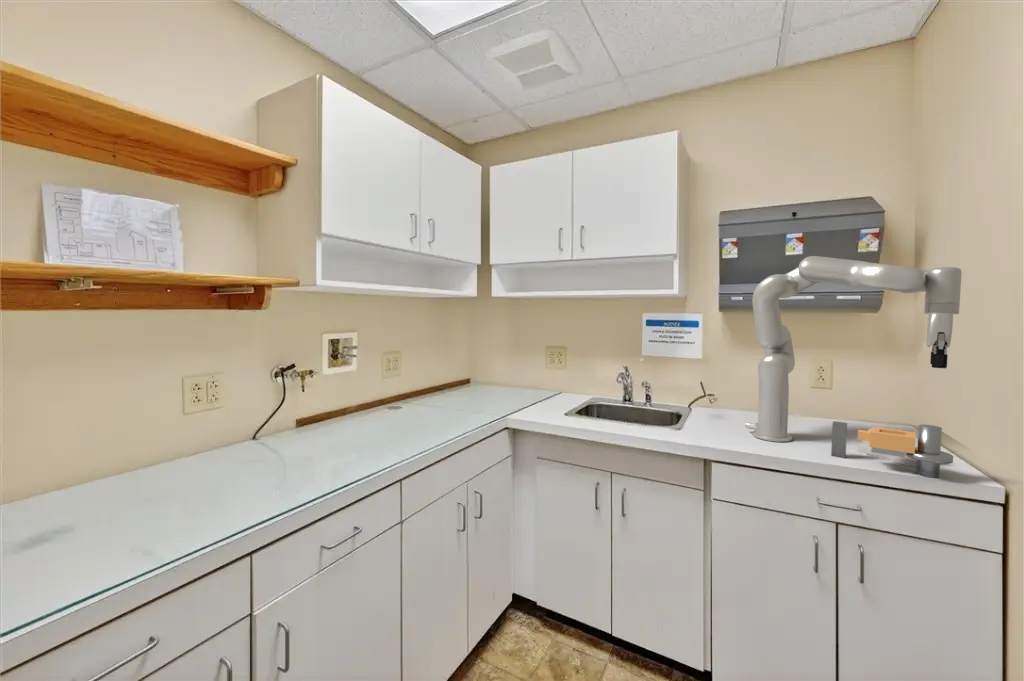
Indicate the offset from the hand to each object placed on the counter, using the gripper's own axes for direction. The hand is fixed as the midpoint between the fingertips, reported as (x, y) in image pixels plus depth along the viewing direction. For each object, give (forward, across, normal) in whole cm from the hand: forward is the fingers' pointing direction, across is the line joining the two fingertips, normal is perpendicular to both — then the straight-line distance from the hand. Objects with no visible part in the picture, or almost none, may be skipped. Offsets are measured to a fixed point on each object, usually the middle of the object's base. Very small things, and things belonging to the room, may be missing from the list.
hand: (938, 366), depth 134 cm
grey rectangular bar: (+30, +9, -22) cm, 39 cm away
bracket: (+24, +13, -11) cm, 29 cm away
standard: (+30, +13, -5) cm, 33 cm away
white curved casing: (+31, -1, -9) cm, 32 cm away
